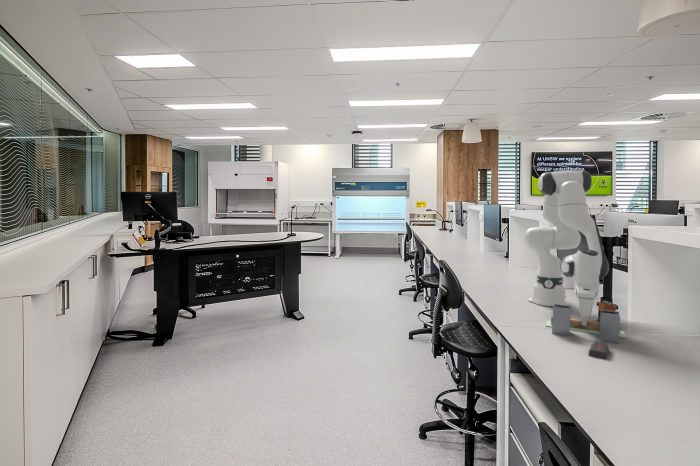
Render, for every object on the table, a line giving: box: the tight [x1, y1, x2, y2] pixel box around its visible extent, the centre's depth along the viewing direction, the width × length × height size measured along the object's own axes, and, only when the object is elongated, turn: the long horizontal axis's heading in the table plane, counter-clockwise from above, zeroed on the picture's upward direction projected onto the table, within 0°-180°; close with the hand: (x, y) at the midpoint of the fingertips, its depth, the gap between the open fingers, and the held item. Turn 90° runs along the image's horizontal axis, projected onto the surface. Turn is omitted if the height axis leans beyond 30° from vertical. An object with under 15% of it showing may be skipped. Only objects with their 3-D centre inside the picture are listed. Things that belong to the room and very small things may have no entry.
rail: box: [550, 315, 621, 334], centre depth 169 cm, size 24×3×3 cm, turn 60°
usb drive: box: [588, 341, 610, 360], centre depth 144 cm, size 5×12×3 cm, turn 144°
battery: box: [597, 300, 617, 322], centre depth 176 cm, size 4×7×10 cm, turn 168°
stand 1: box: [551, 304, 572, 337], centre depth 164 cm, size 6×6×10 cm
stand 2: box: [598, 310, 621, 344], centre depth 157 cm, size 6×6×10 cm
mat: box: [545, 320, 627, 339], centre depth 169 cm, size 8×28×1 cm, turn 60°
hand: (584, 323), depth 169 cm, fingers open, 4 cm apart
